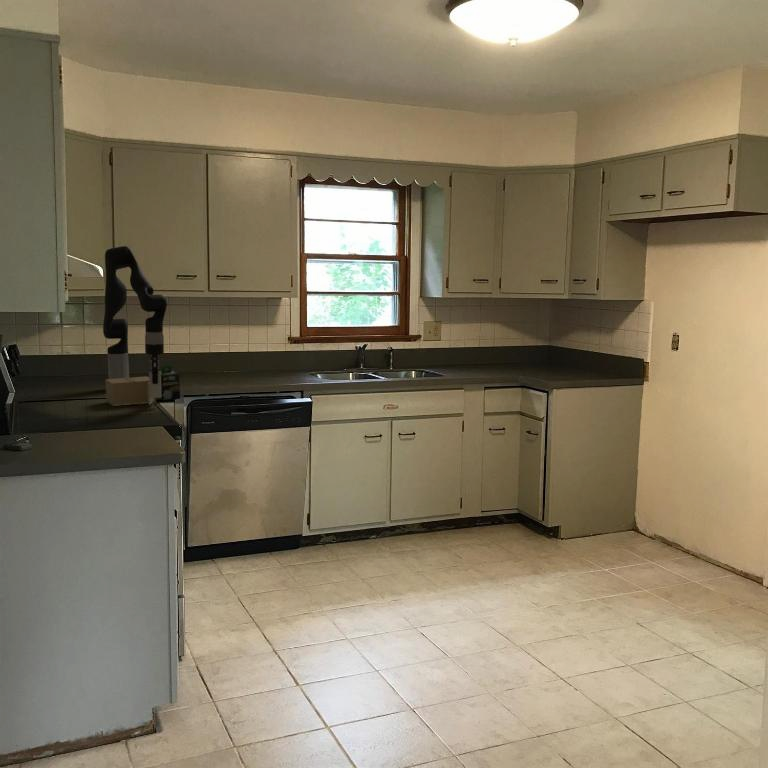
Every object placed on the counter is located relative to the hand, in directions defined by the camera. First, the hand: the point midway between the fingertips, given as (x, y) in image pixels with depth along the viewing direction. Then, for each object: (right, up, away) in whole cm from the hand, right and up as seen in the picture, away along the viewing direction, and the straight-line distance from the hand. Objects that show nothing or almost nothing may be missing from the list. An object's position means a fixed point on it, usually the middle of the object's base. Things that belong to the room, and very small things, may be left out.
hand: (155, 383), depth 348 cm
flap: (-1, -9, +5) cm, 10 cm away
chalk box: (-1, -7, +22) cm, 23 cm away
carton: (-13, -8, +10) cm, 19 cm away
